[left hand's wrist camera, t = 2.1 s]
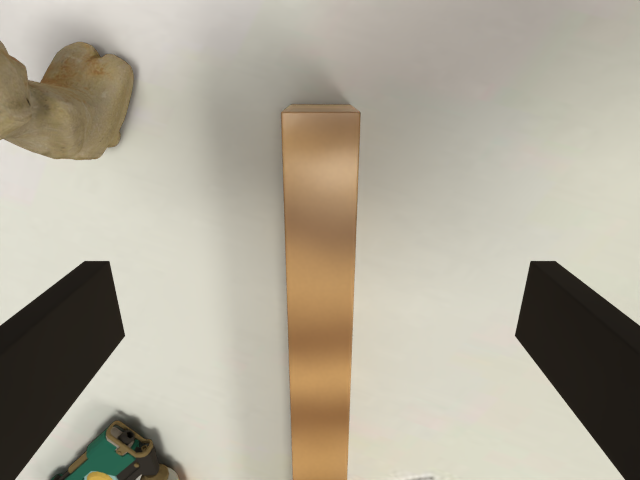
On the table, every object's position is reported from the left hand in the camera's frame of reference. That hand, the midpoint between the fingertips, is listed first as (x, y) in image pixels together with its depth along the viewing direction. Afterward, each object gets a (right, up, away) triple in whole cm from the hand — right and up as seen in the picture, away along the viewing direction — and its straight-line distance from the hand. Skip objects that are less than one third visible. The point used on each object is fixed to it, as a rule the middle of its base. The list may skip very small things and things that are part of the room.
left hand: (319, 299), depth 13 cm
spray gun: (-22, -24, +32) cm, 46 cm away
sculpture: (-16, +12, +17) cm, 27 cm away
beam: (0, -18, +29) cm, 34 cm away
